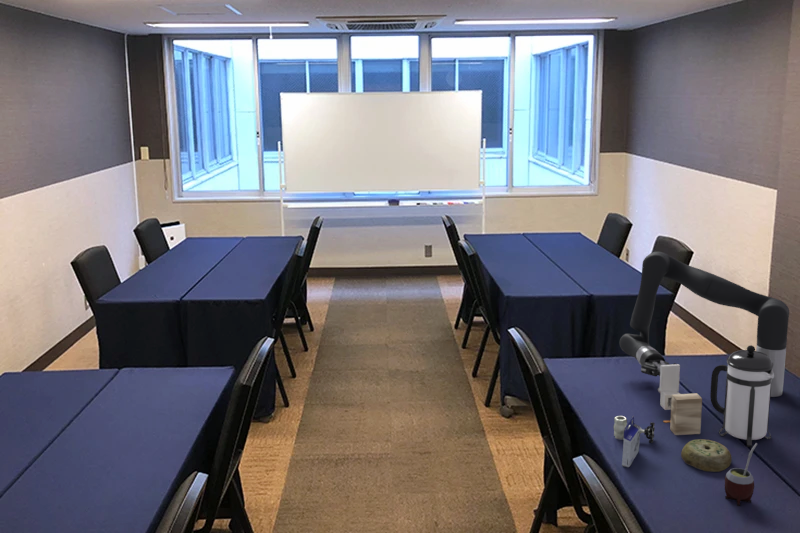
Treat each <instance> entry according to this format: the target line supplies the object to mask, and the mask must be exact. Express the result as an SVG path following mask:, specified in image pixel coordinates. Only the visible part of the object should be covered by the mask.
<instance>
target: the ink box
mask: <svg viewBox="0 0 800 533" xmlns="http://www.w3.org/2000/svg"><path fill="white" fill-rule="evenodd" d="M629 426H630V427H629ZM628 427H629V429H628ZM640 428H641V426H640V425H638V424H637V423H635V416H634V415H632V417H631V419H630V420H629V421H628V422H627V426H626V427H625V428H624V439H623V446H622V460H621V466H622V467H626V468H629V467H631V465H632V464H633V462H634V461H635V460H634V459H635V458H636V457H637V455H638V453H639V450H640V440H641V439H640V438H641V434H640Z"/></svg>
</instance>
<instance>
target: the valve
mask: <svg viewBox="0 0 800 533" xmlns="http://www.w3.org/2000/svg"><path fill="white" fill-rule="evenodd" d="M613 420H614V422H613V423H614V424H613V430H614V431H613V437H614V436H615V437H614V438H615V439H616V440H622V441H624V428H625V427H626V426H627V424H628V419H627V417H625V416H623V415H617V416H615V417H614V419H613ZM655 424H656V423H655V422H654V421H653V422H652V421H651V422H650V423H649V426H646V427H645V428H644V429H642V427H640V435H641V434H644V436H645V438H646V439H648V443H649V444H653V443H654V438H655V431H656V428H655ZM629 427H630V426H629ZM629 427H628V429H629Z"/></svg>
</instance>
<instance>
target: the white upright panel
mask: <svg viewBox="0 0 800 533" xmlns="http://www.w3.org/2000/svg"><path fill="white" fill-rule="evenodd" d="M672 364H673V365H671V364H670V365H661V367H660V376H659V387H660V391H661V394H660V399H659V400H660V401H659V403H660V404H659V405H660V407H662V409H664V411H667V410H670V411H671V404H670V403H669V402H668V398H672V395H675V394H681V393H680V392H679V391H680V373H681V372H680V370H681V365H680V364H678V363H676V364H674V363H672Z"/></svg>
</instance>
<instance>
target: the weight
mask: <svg viewBox="0 0 800 533" xmlns="http://www.w3.org/2000/svg"><path fill="white" fill-rule="evenodd" d="M680 452H681V453H680V457H681V459H682V460H683V462H684V463H685V464H687V465H689V466H691V467H693V468H695V469H698V470H700V471H704V472H712V473H713V472H715V473H716V472H722V471H725V470H726V469H727V468H729V467H730V466H731V465H732V458H733V457H732V454H731V451H730V450H729V449H728V448H727V447H726V446H725V445H723V444H722V443H720V442H718V441H715V440H710V439H705V438H704V439H702V438H700V439H699V438H697V439H692V440H689V441H688V442H687V443H686V444H685V445H684V446H683V447H682V449H681V451H680Z"/></svg>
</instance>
